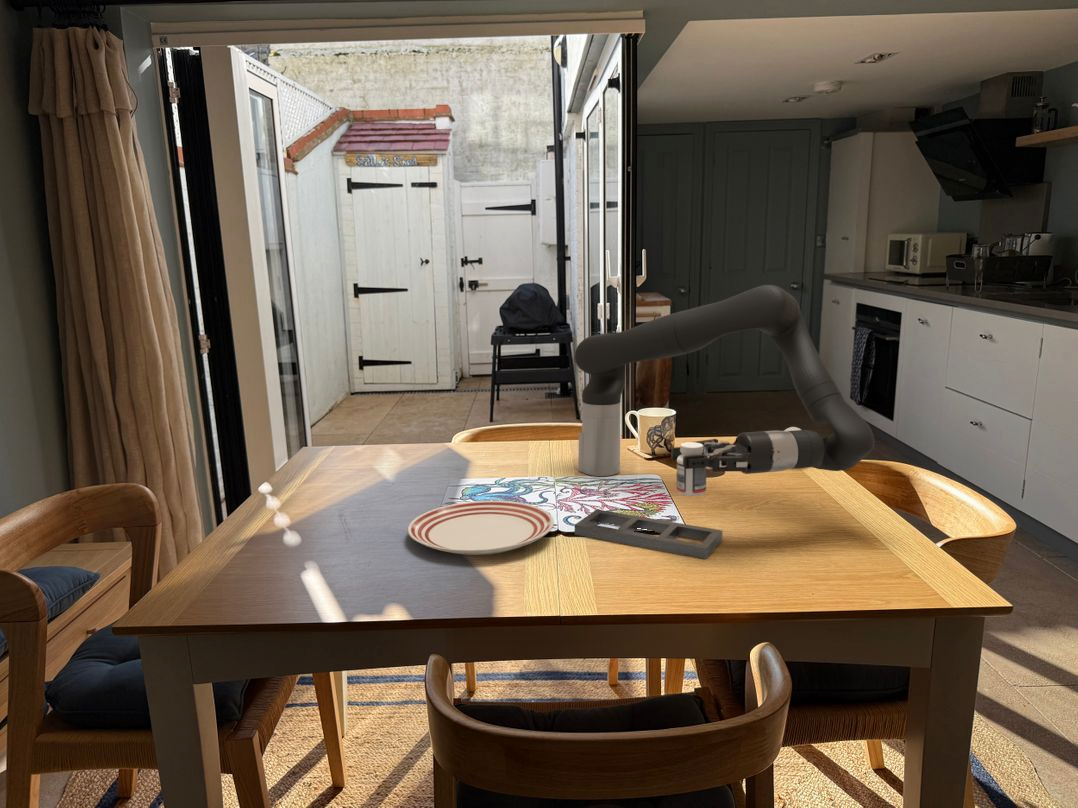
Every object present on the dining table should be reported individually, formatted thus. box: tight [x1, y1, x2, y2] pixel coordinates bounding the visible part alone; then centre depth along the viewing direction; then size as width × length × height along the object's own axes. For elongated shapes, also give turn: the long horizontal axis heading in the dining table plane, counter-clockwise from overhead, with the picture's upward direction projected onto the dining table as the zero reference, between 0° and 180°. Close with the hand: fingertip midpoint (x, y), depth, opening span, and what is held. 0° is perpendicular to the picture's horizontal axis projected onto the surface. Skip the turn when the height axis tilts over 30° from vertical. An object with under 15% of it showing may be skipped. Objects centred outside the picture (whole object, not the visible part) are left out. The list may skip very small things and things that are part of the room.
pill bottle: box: [676, 441, 707, 497], centre depth 142 cm, size 5×5×9 cm
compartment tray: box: [574, 509, 724, 560], centre depth 149 cm, size 26×10×2 cm, turn 61°
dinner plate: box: [407, 500, 555, 556], centre depth 150 cm, size 28×27×3 cm
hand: (678, 458), depth 141 cm, fingers closed on pill bottle, 5 cm apart
